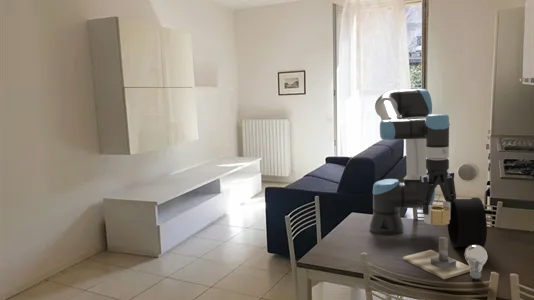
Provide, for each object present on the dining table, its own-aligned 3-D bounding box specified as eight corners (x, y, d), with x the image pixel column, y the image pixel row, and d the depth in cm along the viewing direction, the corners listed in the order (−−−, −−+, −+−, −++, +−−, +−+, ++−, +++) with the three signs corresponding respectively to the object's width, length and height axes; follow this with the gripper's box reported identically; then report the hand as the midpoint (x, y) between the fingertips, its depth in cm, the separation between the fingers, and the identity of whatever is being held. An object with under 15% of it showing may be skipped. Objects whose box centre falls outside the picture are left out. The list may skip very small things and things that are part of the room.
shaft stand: (403, 259, 162) (402, 231, 160) (430, 252, 168) (430, 225, 166) (444, 279, 144) (444, 248, 142) (473, 270, 149) (473, 240, 148)
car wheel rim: (486, 256, 161) (487, 205, 158) (458, 255, 163) (458, 205, 160) (472, 237, 180) (472, 192, 178) (447, 237, 182) (447, 192, 180)
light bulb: (462, 273, 147) (463, 240, 146) (484, 275, 145) (485, 242, 143) (465, 282, 141) (466, 248, 139) (489, 284, 139) (489, 249, 137)
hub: (420, 220, 153) (420, 207, 152) (437, 217, 156) (437, 204, 155) (436, 226, 146) (437, 212, 145) (454, 222, 149) (454, 209, 148)
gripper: (421, 162, 141) (421, 228, 144) (468, 156, 148) (467, 219, 151) (406, 160, 147) (406, 222, 150) (451, 154, 155) (451, 214, 158)
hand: (437, 220), depth 151 cm, fingers closed on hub, 8 cm apart
